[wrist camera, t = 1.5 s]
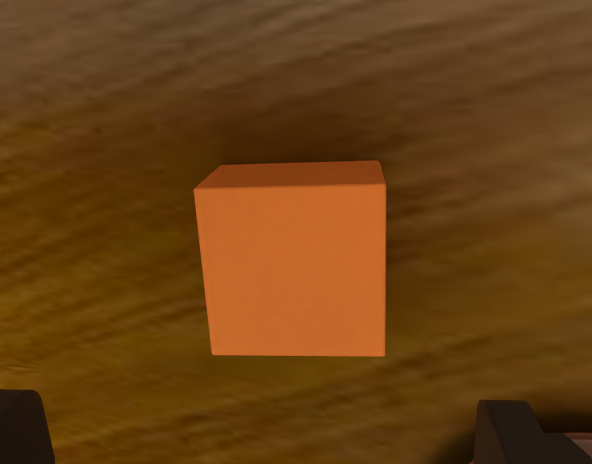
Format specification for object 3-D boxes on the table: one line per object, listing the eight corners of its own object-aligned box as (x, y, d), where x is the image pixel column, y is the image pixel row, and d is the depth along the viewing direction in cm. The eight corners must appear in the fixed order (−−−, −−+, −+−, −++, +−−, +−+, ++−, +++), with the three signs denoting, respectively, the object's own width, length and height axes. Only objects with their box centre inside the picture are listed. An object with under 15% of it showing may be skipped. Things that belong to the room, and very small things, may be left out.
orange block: (219, 164, 19) (192, 188, 16) (379, 159, 18) (386, 183, 15) (233, 307, 21) (211, 356, 17) (379, 307, 20) (385, 357, 17)
